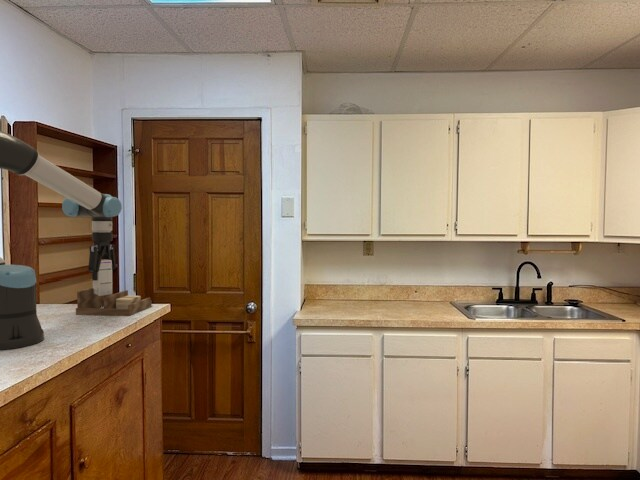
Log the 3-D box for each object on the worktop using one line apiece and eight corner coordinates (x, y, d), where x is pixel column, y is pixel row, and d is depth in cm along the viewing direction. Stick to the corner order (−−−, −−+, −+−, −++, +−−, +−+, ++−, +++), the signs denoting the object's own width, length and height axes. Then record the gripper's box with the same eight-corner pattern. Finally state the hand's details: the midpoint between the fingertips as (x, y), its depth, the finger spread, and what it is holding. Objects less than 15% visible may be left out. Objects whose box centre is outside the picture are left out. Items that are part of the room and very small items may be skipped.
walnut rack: (129, 315, 163) (128, 293, 163) (75, 314, 165) (75, 292, 165) (151, 306, 181) (151, 285, 181) (103, 305, 183) (102, 284, 183)
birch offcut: (130, 306, 168) (129, 299, 168) (116, 306, 169) (115, 299, 169) (140, 302, 176) (140, 295, 176) (127, 302, 177) (127, 295, 177)
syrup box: (113, 294, 173) (112, 259, 173) (97, 296, 169) (97, 260, 168) (107, 292, 177) (107, 258, 176) (92, 294, 173) (92, 259, 172)
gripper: (95, 232, 161) (96, 290, 162) (124, 231, 182) (125, 283, 183) (77, 232, 162) (77, 290, 163) (108, 231, 183) (108, 283, 183)
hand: (102, 286), depth 173 cm, fingers closed on syrup box, 8 cm apart
